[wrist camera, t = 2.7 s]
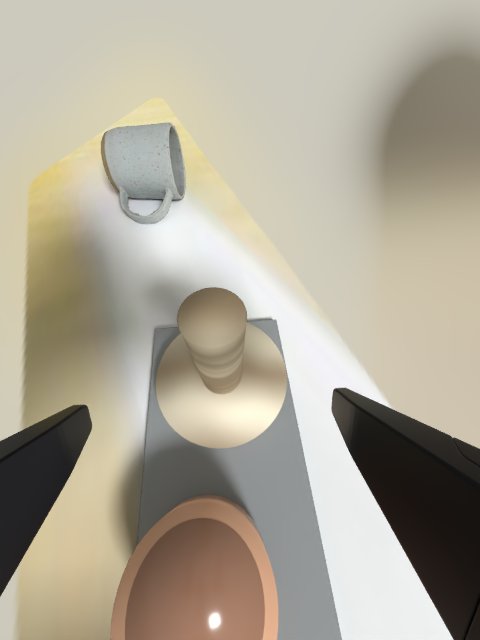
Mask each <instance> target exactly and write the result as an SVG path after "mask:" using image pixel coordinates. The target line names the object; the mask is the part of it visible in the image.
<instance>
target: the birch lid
mask: <svg viewBox="0 0 480 640" xmlns="http://www.w3.org/2000/svg"><path fill="white" fill-rule="evenodd" d="M246 321H247V312H246V308H245V305H244V304H243V302H242V300H241V299H240V298H239V297H238V296H237V295H235V294H234V293H232V292H231V291H228V290H226V289H222V288H205V289H201V290H199V291H196V292H194V293H193V294H191V295H190V296H189V297H187V298H186V299H185V300H184V302H183V303H182V305H181V306H180V308H179V311H178V316H177V322H178V327H179V329H180V332H181V334H179V335H178V336H177V337H176V338H175V339H174V340H173V341H172V343H171V344H170V345H169V346H168V348H167V349H166V351H165V353H164V355H163V356H162V359H161V361H160V364H159V367H158V371H157V376H156V394H157V400H158V403H159V407H160V409H161V412H162V414H163V416H164V417H165V419H166V421H167V422H168V424H169V425H170V426H171V427H172V428H173V429H174V430H175V431H176V432H177V433H178V434H179V435H181V436H182V437H183V438H185V439H187V440H188V441H190V442H192V443H195V444H197V445H200V446H204V447H208V448H219V449H220V448H231V447H236V446H239V445H242V444H245V443H247V442H249V441H251V440H252V439H254V438H256V437H257V436H259V435H260V434H261V433H263V432H264V431H265V430H266V429H267V428H268V427H269V426H270V425H271V423H272V422H273V421H274V420H275V418H276V417H277V415H278V413H279V411H280V410H281V407H282V405H283V402H284V398H285V394H286V388H287V374H286V367H285V364H284V360H283V358H282V355H281V353H280V351H279V350H278V348H277V346H276V345H275V343H274V342H273V341H272V340H271V338H270V337H269V336H268V335H267V334H265V333H264V332H263V331H262V330H260V329H259V328H257V327H255V326H254V325H252V324H249V323H247V322H246Z"/></svg>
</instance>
